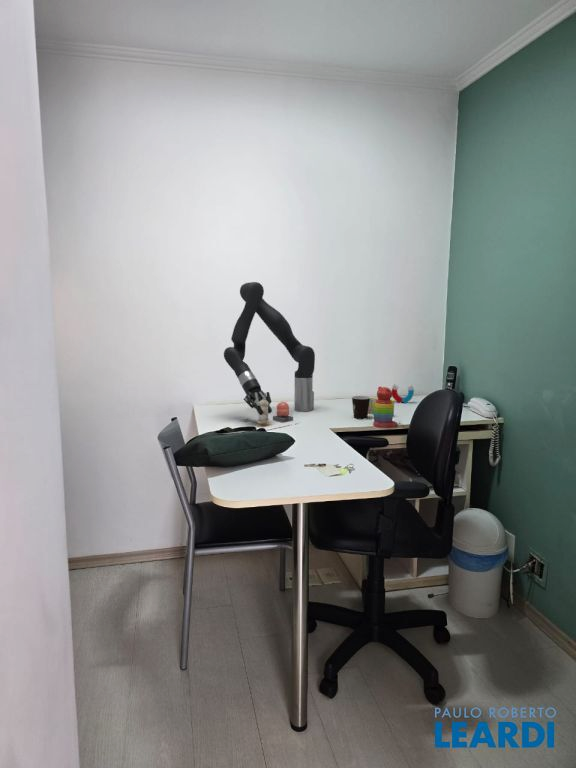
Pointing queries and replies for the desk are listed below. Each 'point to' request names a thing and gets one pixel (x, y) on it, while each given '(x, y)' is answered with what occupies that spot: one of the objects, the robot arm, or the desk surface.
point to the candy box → (371, 405)
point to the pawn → (264, 416)
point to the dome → (282, 409)
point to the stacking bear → (384, 409)
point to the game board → (275, 418)
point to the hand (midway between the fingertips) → (266, 413)
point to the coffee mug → (360, 406)
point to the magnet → (402, 399)
